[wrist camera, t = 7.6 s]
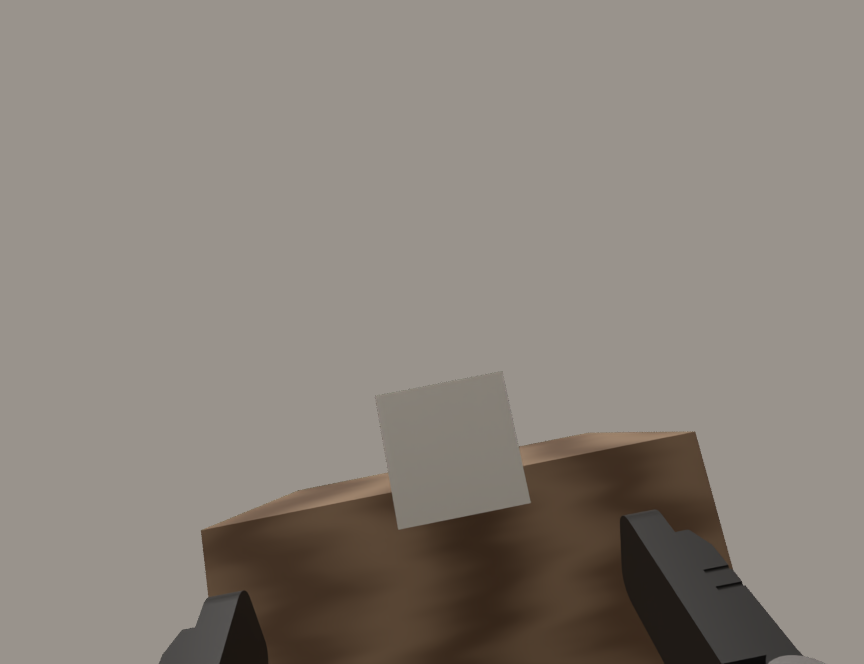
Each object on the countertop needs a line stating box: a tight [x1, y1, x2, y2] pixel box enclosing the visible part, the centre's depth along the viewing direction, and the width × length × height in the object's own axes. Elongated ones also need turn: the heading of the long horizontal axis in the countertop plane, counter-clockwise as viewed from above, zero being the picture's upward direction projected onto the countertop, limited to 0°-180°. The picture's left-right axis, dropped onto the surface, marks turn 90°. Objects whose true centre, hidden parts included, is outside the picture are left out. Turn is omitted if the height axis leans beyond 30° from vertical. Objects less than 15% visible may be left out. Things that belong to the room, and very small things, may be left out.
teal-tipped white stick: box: [375, 371, 531, 530], centre depth 25 cm, size 4×26×3 cm, turn 0°
